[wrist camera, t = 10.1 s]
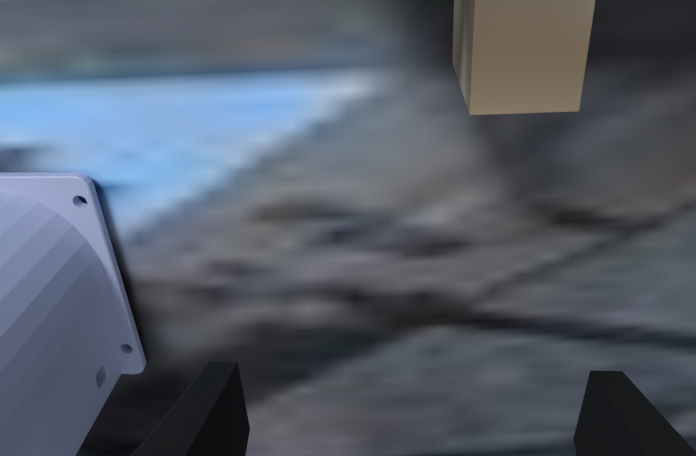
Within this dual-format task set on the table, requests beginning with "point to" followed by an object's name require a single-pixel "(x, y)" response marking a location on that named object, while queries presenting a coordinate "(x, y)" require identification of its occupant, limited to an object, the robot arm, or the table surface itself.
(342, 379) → the table surface
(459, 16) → the push stick
